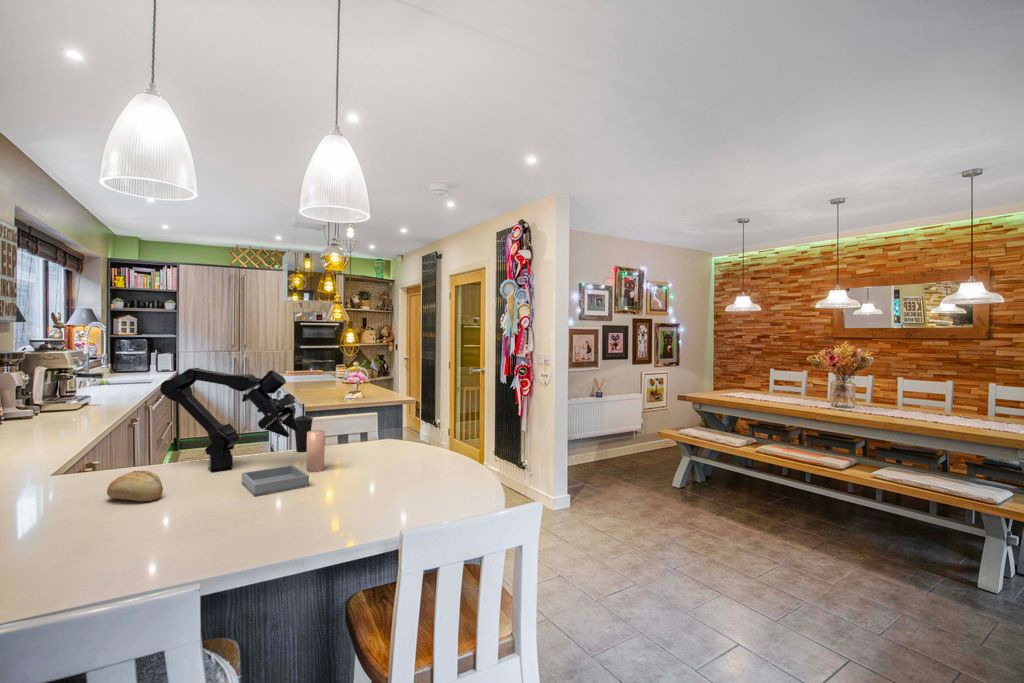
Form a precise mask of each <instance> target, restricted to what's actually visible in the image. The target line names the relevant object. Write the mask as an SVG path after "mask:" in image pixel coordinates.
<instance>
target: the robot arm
mask: <svg viewBox="0 0 1024 683" xmlns="http://www.w3.org/2000/svg"><path fill="white" fill-rule="evenodd" d="M197 381H200V382H206V383H212V384H216V385H217V384H218V385H224V386H227V387H228V388H230V389H232V390H235V391H238V392H246V391H249V392H247V393H243V394H242V399H241V402H242V403H243V402H247V401H250V402H251V403H252V404H253V405H254V407H256V408H257V410H256V412H258V413H262V415H263V417H262V418H260V420H259V421H258V422H257V426H258V428H260V429H261V430H265V431H268V432H271V433H275V434H277V435H280V436H282V437H285V438H288V437H290V433H289V432H288V431H287V429H286V428H285V427H287V428H289V429H290V430H293V431H294V432H295V431H296V432H299V431H300V429H299V427H298V425H297V422H296V420H295V418H296V417H295V416H296V413H297V412H296V410H297V409H296V408H295V406H294V405H292V404H295V403H296V401H295V400H296V397H295V396H294V395H293V394H291V393H287V394H284V395H283V398H280V399H277V398H276V397H275V398H273V397H272V396H271V395H269V394H275V393H276V392H277V391H278V390H279V389H281V388H282V386H284V385H285V384H286V383H287V380H286V379H285V377H284V376H283V375H281V374H280V373H278V372H276V371H275V370H273V369H272V370H269V371H268V372H267V373H266V374H265V375H264V376H263V377H261V378H260V377H256V375H254V374H252V373H240V374H239V373H236V374H235V373H234V374H233V373H232V374H231V373H224V372H220V371H213V370H208V369H202V368H200V367H192V368H188V369H186V370H184V371H183V372H181V373H180V374H178V375H175V376H174V377H172V378H170V379H167V380H164V381H163V382H162V383H161V384H160V389H159V391H160V393H161V395H163V396H164V397H166V398H167V399H168V400H170V401H172V402H175V403H177V404H179V405H180V406H181V407H182V408H183V409H184V410H185V411H186V412H187V413H188V414H189V415H190V416H191V417H192V418H193V419H194V420H195V421H196V422H197V423H198V424H199V425H200V427H202V428H203V429H204V430H205V431H206V432H207V436H208V438H209V441H210V444H209V445H208V446H207V447H205V449H204V451H205V453H206V456H207V455H208V456H209V460H208V462H209V463H208V465H209V466H207V469H208V470H209V472H210V473H215V472H221V471H222V472H223V471H228V470H232V469H233V466H234V465H233V460H234V459H233V458H234V456H233V454H232V450H234V448H235V445H237V443H238V442H239V436H240V435H239V434H238V433H237V432H238V430H236V429H235V428H234V427H233V426H232V424H230V423H226V424H222V423H221V422H219V421H218V419H217V418H216V417H214V415H213V414H211V412H210V411H209V410H208V408H206V407H205V406H204V405H203V404H202V403H201V402H200V401H199V400H198V399H197V398H196V397H195V396H194V395H193V394H194V393H193V390H192V387H191V386H193V385H194V384H195V383H196V382H197ZM284 426H285V427H284Z"/></svg>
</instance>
